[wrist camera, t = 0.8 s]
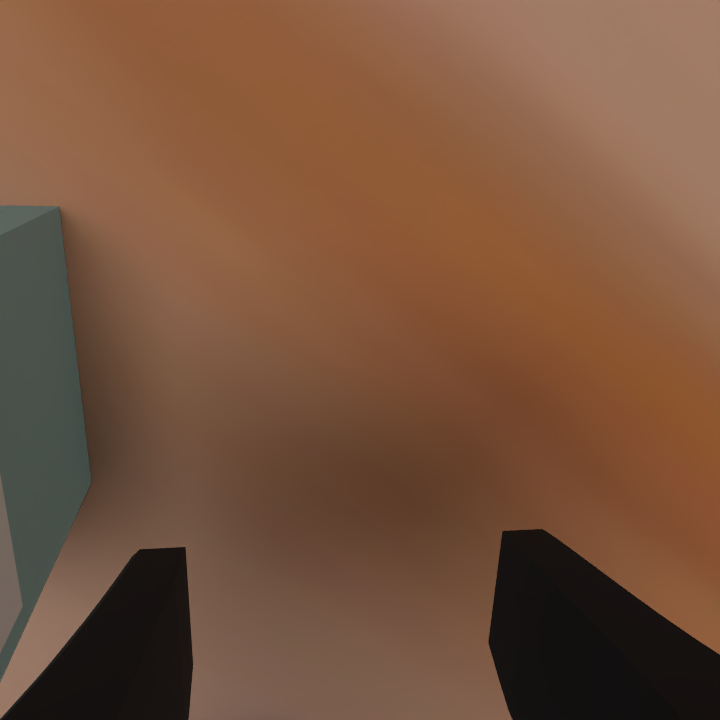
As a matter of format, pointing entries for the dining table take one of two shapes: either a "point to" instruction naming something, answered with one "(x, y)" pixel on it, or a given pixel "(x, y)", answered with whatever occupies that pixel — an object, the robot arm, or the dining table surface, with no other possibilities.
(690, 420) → the dining table surface
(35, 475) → the slab
